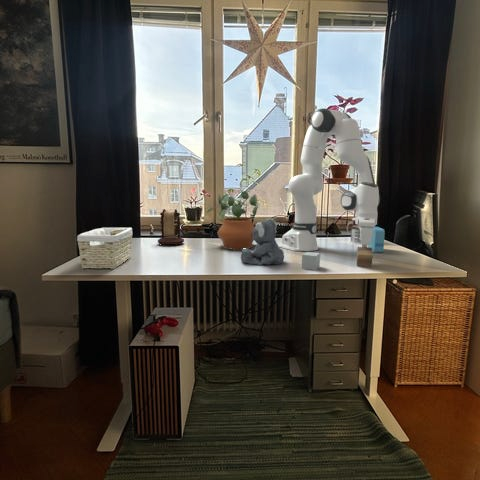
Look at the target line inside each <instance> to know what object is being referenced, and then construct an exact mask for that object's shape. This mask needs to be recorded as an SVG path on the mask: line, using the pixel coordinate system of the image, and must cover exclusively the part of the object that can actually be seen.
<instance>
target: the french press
mask: <svg viewBox="0 0 480 480" xmlns="http://www.w3.org/2000/svg"><path fill="white" fill-rule="evenodd" d="M351 220H352V221H349V222H348V223H347V225H346V227H349V226H350V224H351V225H352V228H351V233H350V232H349V228H346V232H347V233H348V234H349V235H350V241H349V242H348V243H349V244H351V243H352V244H351V245H362V244H361V239H360V228H358V225H357V224H356V225H355V224H354V222H353V221H355V222H356V216H355V217H353V218H351Z"/></svg>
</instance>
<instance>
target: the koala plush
mask: <svg viewBox="0 0 480 480" xmlns="http://www.w3.org/2000/svg"><path fill="white" fill-rule="evenodd" d="M254 227H255V229H254V231H253V232H252V233H251V236H252V237H253V242H255V243H256V245H255V247H254V250H253V251H251V249H250V248H248V249H247V248H246V249H241V254H240V262H241V263H243V264H246V263H248V265H256V264H257V265H258V266H263V265H265V266H268V265H271V264H272V265H279V264H281V263H283V262H284V260H285V252H284V250H283V248H281V247H278V244H279V243H277V241H276V230H277V223H276V221H275V220H274V219H273V218H272V217H269V218H267V219H265V220H260V221H259V222H257V223H256V224H255V226H254Z"/></svg>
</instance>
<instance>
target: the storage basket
mask: <svg viewBox="0 0 480 480" xmlns="http://www.w3.org/2000/svg"><path fill="white" fill-rule="evenodd" d="M132 240H133V228H132V227H101V228H94V229H92V230H89V231H85V232H82V233H80V234H78V235H77V238H76V241H77V245H78V249H79V250H78V251H79V256H80V263H81V269H84V268H111V269H110V270H113V268H114V269H116V268H117V267H119V266H120V265H122V264H124V263H125V261H126V260H127V259H128V260H130V259H131V258H130V257H132V245H133V243H132V242H133V241H132ZM128 260H127V261H128ZM123 262H124V263H123Z"/></svg>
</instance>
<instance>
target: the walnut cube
mask: <svg viewBox="0 0 480 480" xmlns="http://www.w3.org/2000/svg"><path fill="white" fill-rule="evenodd" d="M356 250H357V251H356V267H362V268H363V267H364V268H365V267H366V268H372V265H373V257H374V254H373V253H374V252H372V248H368V246H367V247H362V246H357V248H356Z"/></svg>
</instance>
